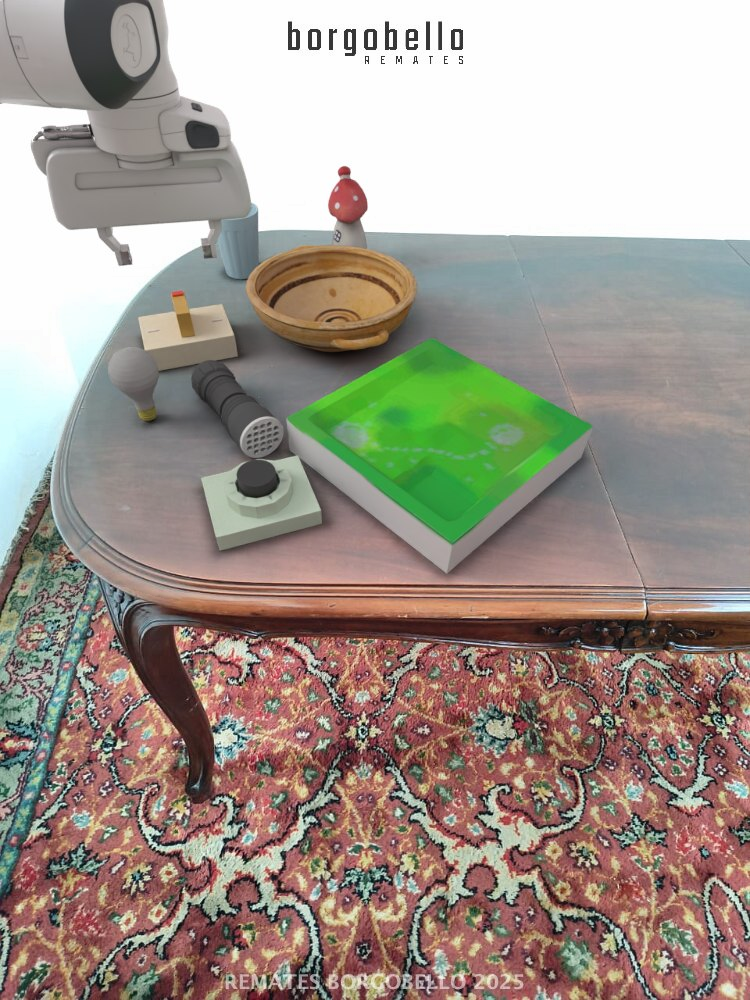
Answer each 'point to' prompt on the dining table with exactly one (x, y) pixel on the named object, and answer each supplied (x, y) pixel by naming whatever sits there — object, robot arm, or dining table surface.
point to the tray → (438, 448)
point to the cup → (240, 244)
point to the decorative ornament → (348, 211)
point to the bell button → (257, 478)
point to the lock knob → (182, 314)
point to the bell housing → (261, 505)
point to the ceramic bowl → (332, 296)
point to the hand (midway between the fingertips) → (168, 259)
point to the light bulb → (136, 378)
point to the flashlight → (237, 409)
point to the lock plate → (178, 351)
